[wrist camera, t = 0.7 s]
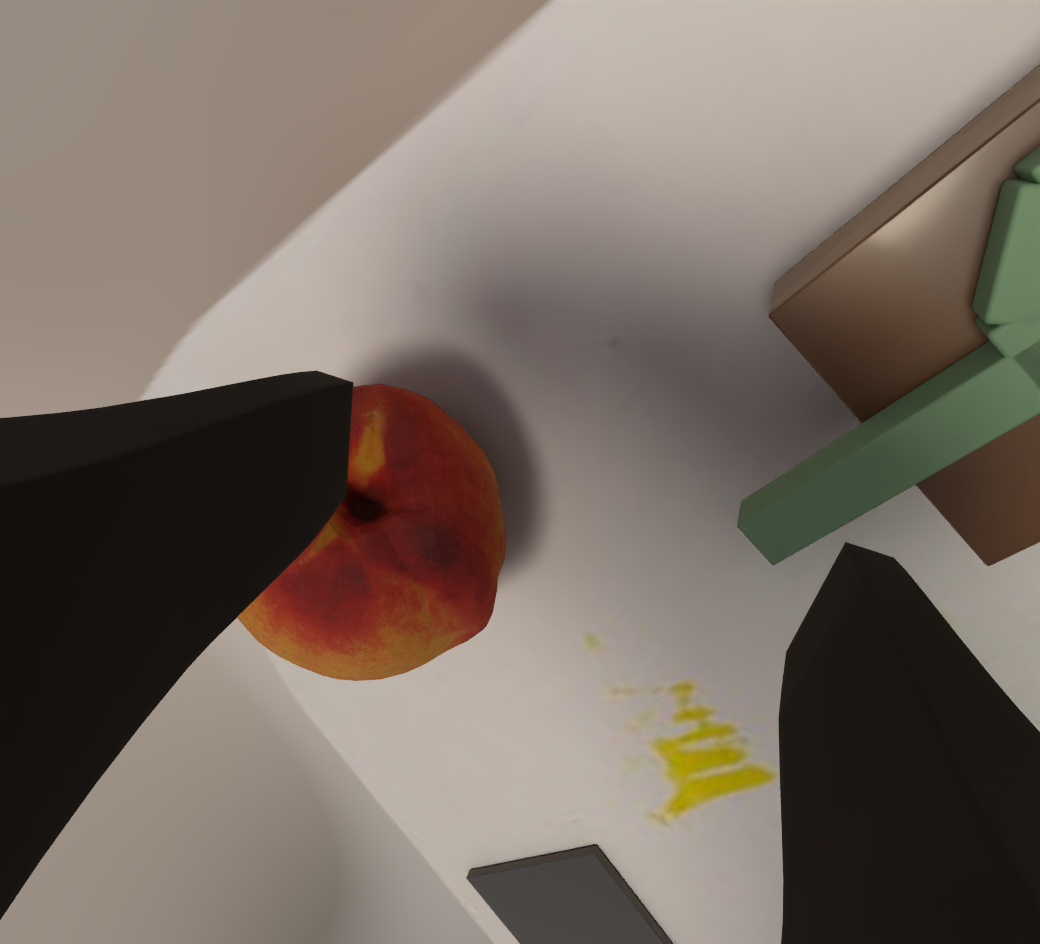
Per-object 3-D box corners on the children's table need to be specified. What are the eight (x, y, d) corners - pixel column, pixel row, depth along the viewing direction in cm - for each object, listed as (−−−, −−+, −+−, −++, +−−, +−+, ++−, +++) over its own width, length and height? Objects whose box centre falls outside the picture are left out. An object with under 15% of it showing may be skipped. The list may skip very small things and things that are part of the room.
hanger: (1306, -60, 10) (1365, -82, 9) (1546, 259, 10) (1628, 274, 9) (672, 426, 16) (662, 446, 15) (840, 611, 16) (842, 644, 15)
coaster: (692, 968, 29) (690, 978, 28) (558, 979, 32) (556, 988, 32) (596, 844, 28) (593, 853, 27) (469, 870, 31) (465, 878, 31)
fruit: (602, 511, 21) (507, 690, 15) (436, 620, 26) (304, 798, 19) (428, 309, 21) (242, 398, 14) (287, 455, 25) (92, 579, 18)
